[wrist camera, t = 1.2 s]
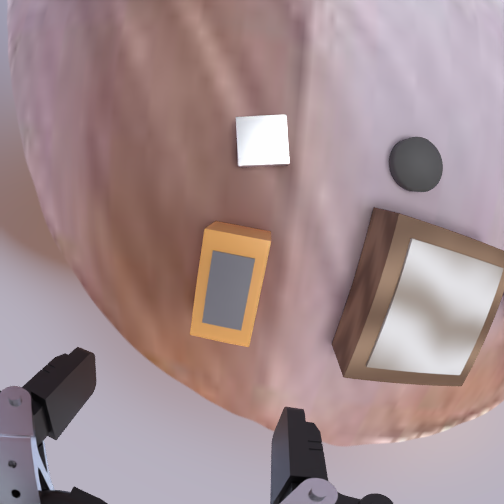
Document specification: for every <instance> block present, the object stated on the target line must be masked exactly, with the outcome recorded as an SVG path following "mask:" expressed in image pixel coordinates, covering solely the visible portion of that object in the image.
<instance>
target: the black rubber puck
mask: <svg viewBox="0 0 504 504" xmlns="http://www.w3.org/2000/svg"><path fill="white" fill-rule="evenodd" d="M389 168H390V172H391V175H392V177H393V179H394V180H395V181H396V183H397V184H398V185H399V186H400V187H402V188H403V189H405V190H408V191H415V192H426V191H429V190H431V189H433V188H434V187H435V186H436V185H437V184H438V182H439V181H440V179H441V176H442V170H443V165H442V159H441V156H440V153H439V151H438V150H437V148H436V147H435V146H434V145H433V144H432V143H431V142H430V141H428V140H427V139H425V138H422V137H412V138H409V139H406V140H402V141H400V142H399V143H397V144H396V145H395V146H394V148H393V149H392V151H391V154H390V158H389Z"/></svg>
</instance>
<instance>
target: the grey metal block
mask: <svg viewBox="0 0 504 504" xmlns="http://www.w3.org/2000/svg"><path fill="white" fill-rule="evenodd" d="M236 130H237V150H238V166H239V167H241V168H247V167H267V166H288V164H289V148H288V131H287V116H286V115H264V116H247V117H236Z"/></svg>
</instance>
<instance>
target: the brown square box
mask: <svg viewBox="0 0 504 504" xmlns="http://www.w3.org/2000/svg"><path fill="white" fill-rule="evenodd" d="M503 293H504V251H503V250H500V249H498V248H495V247H493V246H490V245H488V244H485V243H482V242H480V241H477V240H475V239H472V238H469V237H467V236H464V235H461V234H458V233H456V232H453V231H450V230H447V229H444V228H442V227H439V226H436V225H433V224H430V223H427V222H424V221H421V220H418V219H415V218H412V217H409V216H406V215H402V214H399V213H395V212H391V211H387V210H383V209H379V208H375V207H374V208H373V212H372V216H371V220H370V224H369V227H368V231H367V235H366V239H365V242H364V246H363V250H362V253H361V257H360V260H359V263H358V267H357V270H356V273H355V277H354V280H353V283H352V286H351V290H350V293H349V296H348V299H347V302H346V305H345V308H344V311H343V314H342V317H341V320H340V323H339V325H338V328H337V331H336V334H335V337H334V339H333V342H332V346H333V349H334V352H335V354H336V357H337V360H338V363H339V366H340V369H341V372H342V374H343V377H345V378H352V379H361V380H370V381H380V382H390V383H403V384H417V385H437V386H462V385H463V383H464V381H465V379H466V377H467V375H468V374H469V372H470V370H471V368H472V366H473V364H474V362H475V360H476V358H477V356H478V354H479V352H480V349H481V347H482V345H483V343H484V341H485V338H486V336H487V334H488V332H489V329H490V327H491V324H492V322H493V320H494V317H495V315H496V312H497V309H498V307H499V304H500V301H501V299H502V296H503Z"/></svg>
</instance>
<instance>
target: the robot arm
mask: <svg viewBox="0 0 504 504" xmlns="http://www.w3.org/2000/svg"><path fill="white" fill-rule="evenodd" d="M95 386H96V368H95V355H94V354H93V353H92V352H89V351H87V350H84V349H82V348H79V347H77V348H76V349H74V350H73V351H72V352H71V353H70V354H69V355H67V354H63V355H60V356H57V357H55V358H54V359H53V360H52V361H51V362H49V363H48V365H46V366H45V367H44V368H43V369H42V370H40V371H39V372H38V373H37V374H36V375H35V376H34V377H33V378H32V379H31V380H30V381H28V382H27V383H26V384H25V385H24V386H23V387H18V386H11V387H7V388H5V389H4V390H2V391H0V504H107V503H106V502H104V501H103V500H101V499H100V498H97V497H95V496H93V495H91V494H88V493H86V492H84V491H82V490H80V489H78V488H76V487H73V489H72V491H71V492H67V491H60V490H54V487H53V484H52V481H51V477H50V473H49V468H48V462H47V456H46V449H45V443H44V439H45V438H46V436H49V437H51V438H53V439H55V440H57V439H58V437H59V436H60V435H61V433H62V432H63V431H64V430H65V428H66V427H67V426H68V424H69V423H70V422H71V420H72V419H73V418H74V416H75V415H76V414H77V413H78V411H79V410H80V409H81V408H82V406H83V405H84V404H85V402H86V401H87V400H88V399H89V397H90V396H91V395H92V394H93V392H94V390H95ZM321 443H322V440H321V434H320V431H319V430H318V428H317V427H316V425H315V424H314V423H311V422H306V421H305V413H304V410H303V409H298V408H291V407H285V408H284V409H283V412H282V414H281V417H280V419H279V422H278V424H277V426H276V429H275V431H274V435H273V439H272V454H271V459H272V460H271V502H270V503H271V504H393V502H392V501H391V500H390V499H389V498H388V497H386V496H384V495H381V494H369V495H366V496H365V497H364V498H362V499H361V500H360V499H356V498H352V497H348V496H345V495H342V494H340V493H338V492H337V490H336V488H335V487H334V486H333V485H332V484H331V483H330V482H328V478H327V471H326V465H325V459H324V452H323V446H322V444H321Z"/></svg>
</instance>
